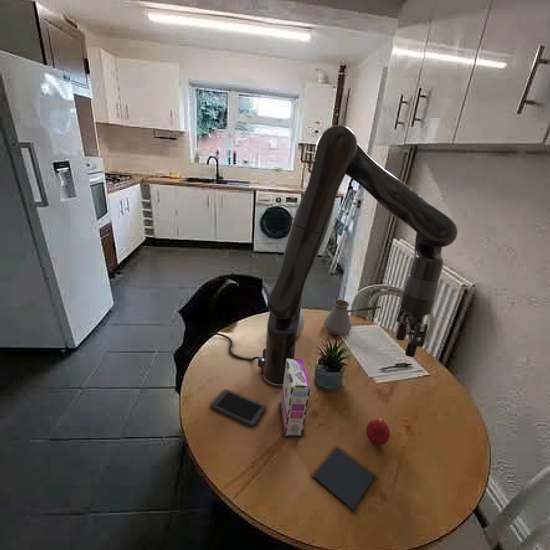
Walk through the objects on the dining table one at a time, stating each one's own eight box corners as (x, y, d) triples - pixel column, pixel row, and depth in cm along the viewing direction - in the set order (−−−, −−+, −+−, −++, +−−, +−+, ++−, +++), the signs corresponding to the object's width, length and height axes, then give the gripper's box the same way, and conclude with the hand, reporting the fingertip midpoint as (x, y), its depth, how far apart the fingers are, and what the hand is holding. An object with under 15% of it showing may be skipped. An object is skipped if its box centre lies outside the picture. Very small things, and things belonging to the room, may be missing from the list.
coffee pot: (320, 333, 126) (325, 301, 121) (325, 320, 136) (330, 290, 131) (374, 347, 121) (382, 313, 115) (375, 332, 131) (382, 300, 125)
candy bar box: (303, 436, 80) (311, 387, 74) (284, 436, 80) (290, 387, 74) (297, 403, 91) (303, 357, 84) (280, 403, 90) (285, 357, 84)
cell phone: (224, 390, 93) (224, 388, 93) (265, 408, 88) (266, 406, 88) (210, 407, 87) (210, 405, 87) (253, 427, 82) (253, 425, 81)
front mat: (313, 477, 71) (314, 476, 70) (336, 449, 78) (337, 448, 78) (353, 510, 65) (353, 509, 64) (373, 477, 72) (374, 476, 72)
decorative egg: (273, 324, 130) (275, 292, 125) (301, 326, 130) (306, 294, 125) (271, 341, 119) (274, 306, 113) (303, 343, 119) (308, 309, 113)
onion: (387, 455, 77) (395, 431, 74) (364, 449, 78) (370, 426, 75) (384, 435, 83) (391, 413, 80) (362, 430, 84) (368, 408, 80)
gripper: (396, 282, 87) (384, 333, 92) (414, 301, 74) (398, 360, 79) (423, 285, 87) (409, 336, 92) (446, 306, 73) (427, 364, 78)
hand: (404, 347), depth 85 cm, fingers open, 8 cm apart
